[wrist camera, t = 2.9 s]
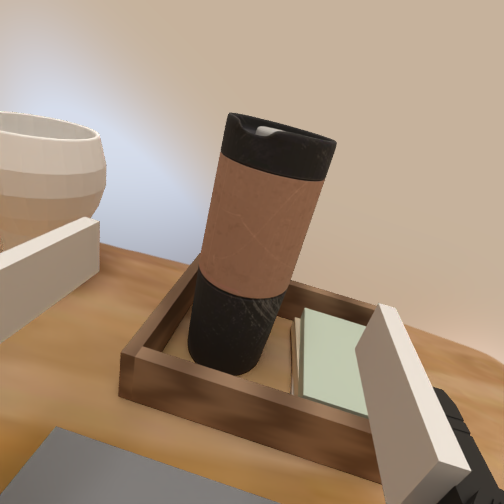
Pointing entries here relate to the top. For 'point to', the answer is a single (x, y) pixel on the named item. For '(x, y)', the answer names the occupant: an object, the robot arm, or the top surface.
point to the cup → (46, 175)
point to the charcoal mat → (110, 478)
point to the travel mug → (253, 237)
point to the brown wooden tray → (248, 386)
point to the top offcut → (330, 362)
